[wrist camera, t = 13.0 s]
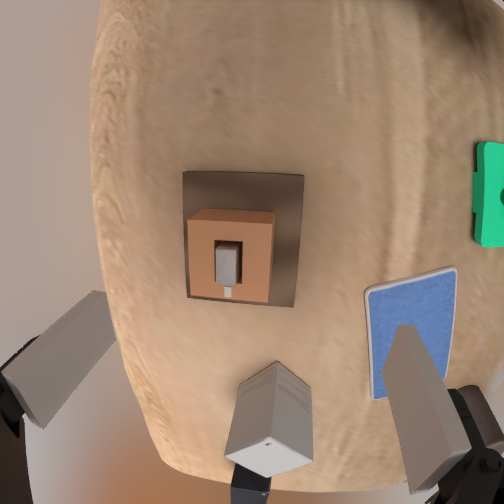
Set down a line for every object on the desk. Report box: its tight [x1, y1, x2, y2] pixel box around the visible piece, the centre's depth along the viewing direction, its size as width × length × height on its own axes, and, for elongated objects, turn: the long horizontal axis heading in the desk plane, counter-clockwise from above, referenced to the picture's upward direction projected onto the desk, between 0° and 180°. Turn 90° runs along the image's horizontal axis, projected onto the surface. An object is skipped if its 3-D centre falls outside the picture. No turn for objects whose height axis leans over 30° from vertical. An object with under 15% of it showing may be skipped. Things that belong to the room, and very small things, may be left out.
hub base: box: [183, 171, 304, 308], centre depth 28 cm, size 14×12×8 cm
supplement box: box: [224, 361, 313, 478], centre depth 32 cm, size 7×7×13 cm
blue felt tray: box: [364, 266, 457, 400], centre depth 33 cm, size 19×13×1 cm, turn 15°
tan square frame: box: [187, 208, 275, 303], centre depth 27 cm, size 7×7×5 cm
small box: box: [230, 463, 272, 504], centre depth 40 cm, size 11×6×10 cm, turn 177°
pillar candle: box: [457, 385, 504, 455], centre depth 29 cm, size 10×10×15 cm
